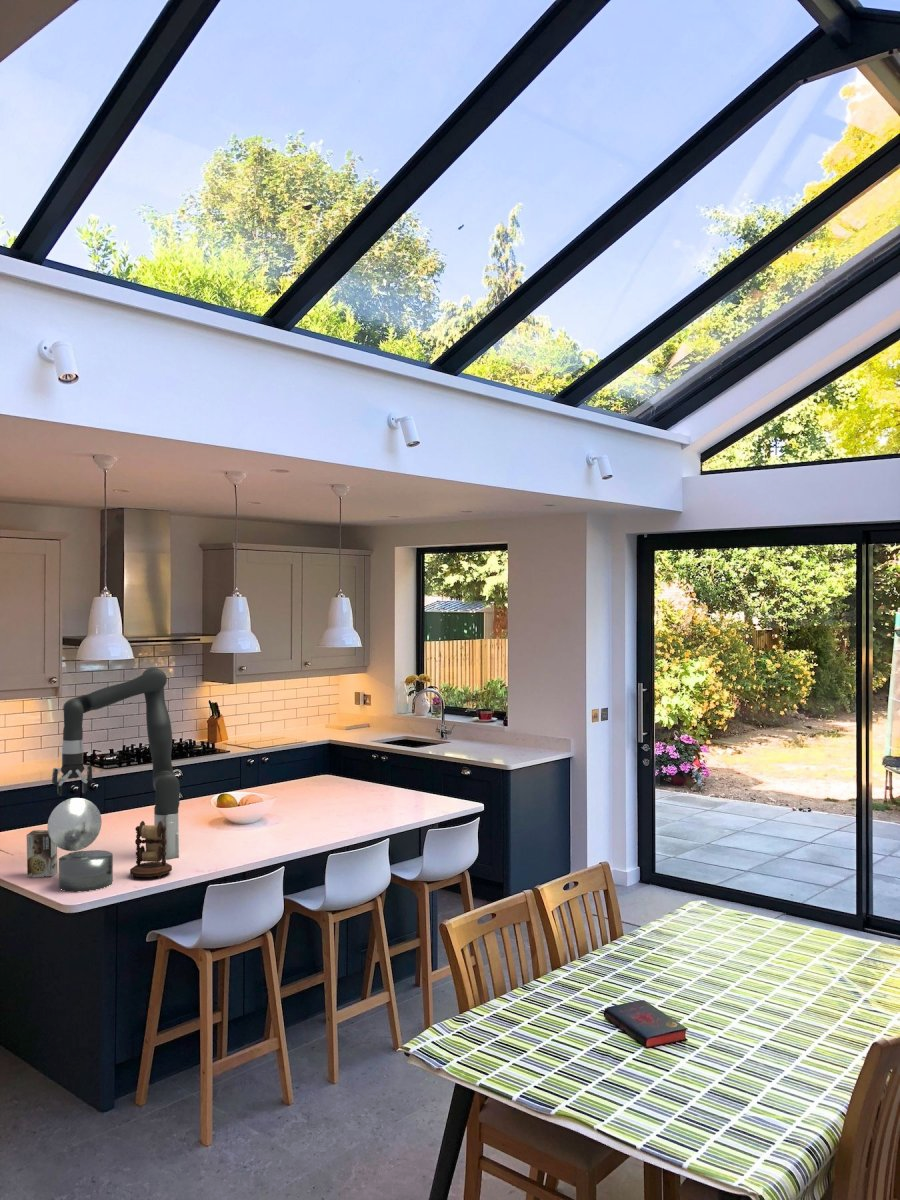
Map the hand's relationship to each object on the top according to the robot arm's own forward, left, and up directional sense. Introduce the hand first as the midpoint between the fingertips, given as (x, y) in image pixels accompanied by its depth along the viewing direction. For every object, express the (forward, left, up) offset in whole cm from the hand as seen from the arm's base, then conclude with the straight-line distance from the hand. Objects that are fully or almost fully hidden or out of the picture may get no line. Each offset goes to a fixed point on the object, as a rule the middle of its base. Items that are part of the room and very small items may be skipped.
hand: (72, 794), depth 366 cm
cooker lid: (-3, +17, -8) cm, 19 cm away
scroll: (-29, +20, -28) cm, 45 cm away
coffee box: (+10, +8, -28) cm, 31 cm away
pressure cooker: (-7, +26, -28) cm, 39 cm away
